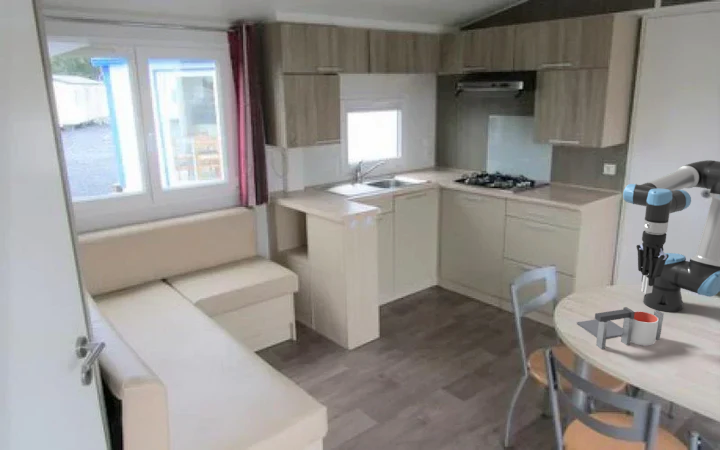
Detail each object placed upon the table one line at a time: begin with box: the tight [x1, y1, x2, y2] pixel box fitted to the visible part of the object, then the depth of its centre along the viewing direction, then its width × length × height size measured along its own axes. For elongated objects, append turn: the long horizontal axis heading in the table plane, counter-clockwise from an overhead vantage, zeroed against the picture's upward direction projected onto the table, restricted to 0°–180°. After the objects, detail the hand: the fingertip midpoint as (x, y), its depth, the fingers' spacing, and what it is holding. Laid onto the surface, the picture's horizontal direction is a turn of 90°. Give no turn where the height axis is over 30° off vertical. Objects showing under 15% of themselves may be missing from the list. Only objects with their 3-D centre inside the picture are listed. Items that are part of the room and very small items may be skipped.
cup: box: [630, 310, 659, 347], centre depth 200 cm, size 10×10×10 cm
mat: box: [576, 318, 623, 339], centre depth 211 cm, size 14×14×1 cm
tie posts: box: [595, 309, 664, 350], centre depth 198 cm, size 26×3×11 cm, turn 104°
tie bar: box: [594, 306, 635, 322], centre depth 194 cm, size 14×4×3 cm, turn 104°
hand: (646, 292), depth 196 cm, fingers closed
